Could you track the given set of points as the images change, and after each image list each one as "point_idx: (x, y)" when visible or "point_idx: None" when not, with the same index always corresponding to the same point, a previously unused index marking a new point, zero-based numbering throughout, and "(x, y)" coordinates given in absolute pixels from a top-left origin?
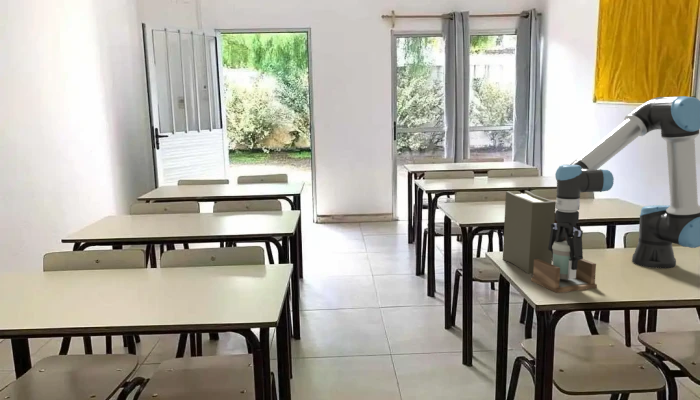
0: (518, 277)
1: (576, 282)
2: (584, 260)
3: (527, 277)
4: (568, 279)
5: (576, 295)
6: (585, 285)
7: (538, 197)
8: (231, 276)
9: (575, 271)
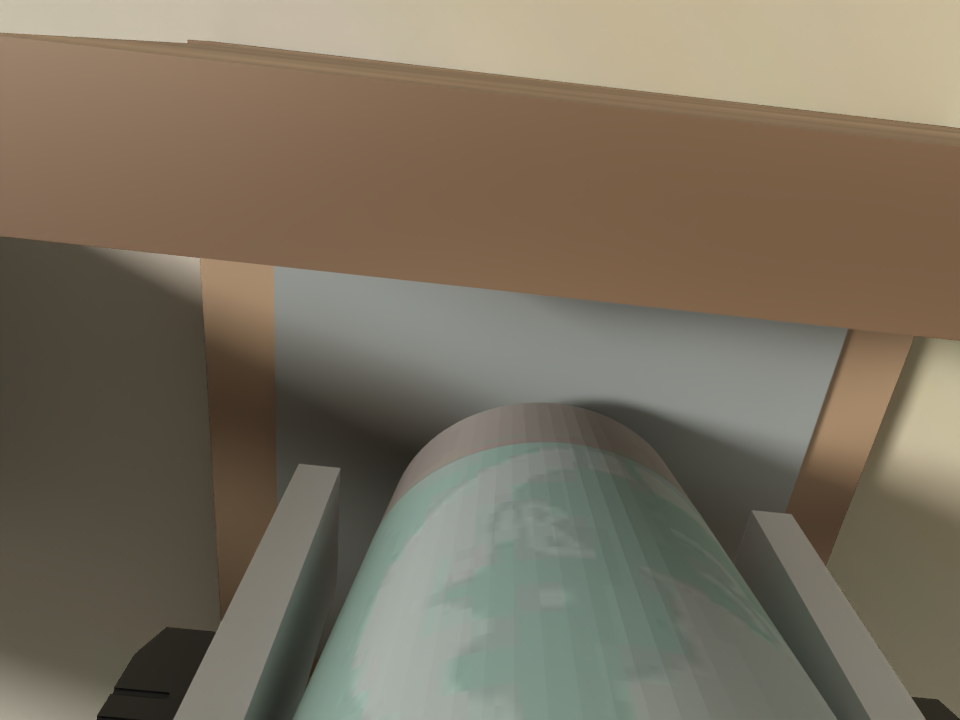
0: (60, 699)
1: (729, 410)
2: (838, 235)
3: (85, 622)
4: (541, 400)
5: (936, 617)
6: (888, 364)
7: None
8: None
9: (847, 624)
